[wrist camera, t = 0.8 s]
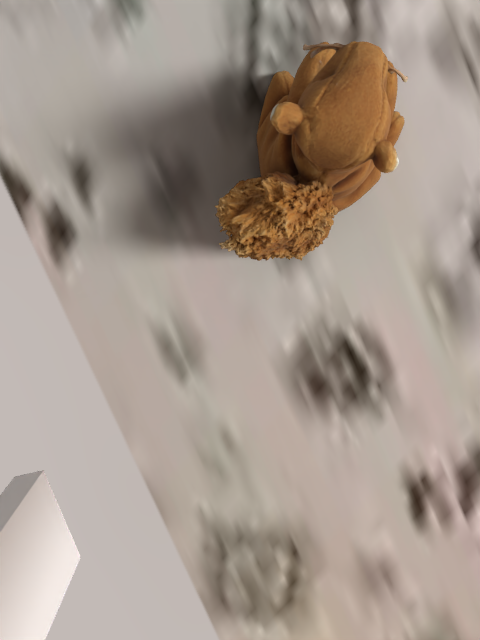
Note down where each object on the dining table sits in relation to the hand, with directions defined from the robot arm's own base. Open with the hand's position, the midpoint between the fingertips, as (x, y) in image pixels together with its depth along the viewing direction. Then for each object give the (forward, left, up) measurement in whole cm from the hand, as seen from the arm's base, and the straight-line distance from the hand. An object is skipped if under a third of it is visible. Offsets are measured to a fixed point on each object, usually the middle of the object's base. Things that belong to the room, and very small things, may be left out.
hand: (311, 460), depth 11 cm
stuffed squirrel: (-7, +5, -26) cm, 27 cm away
